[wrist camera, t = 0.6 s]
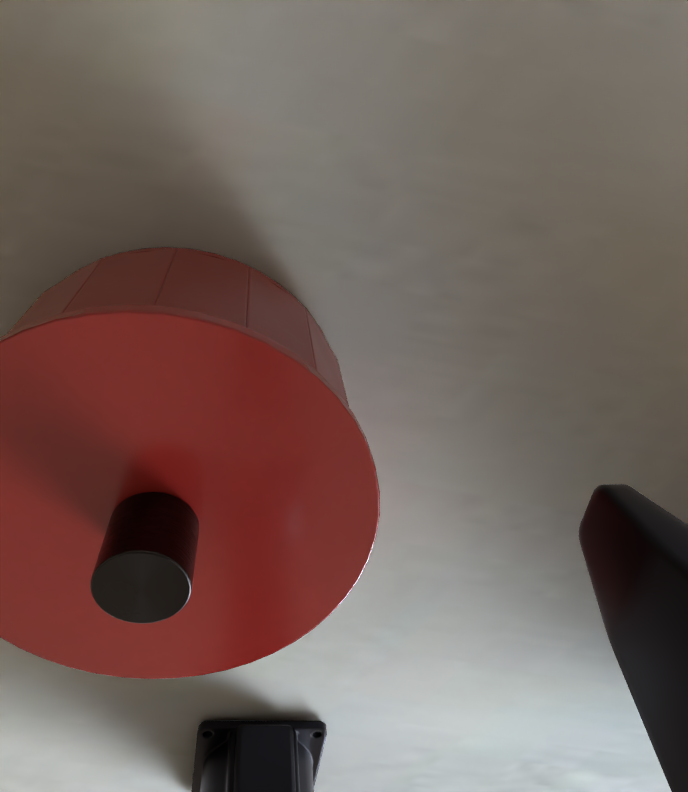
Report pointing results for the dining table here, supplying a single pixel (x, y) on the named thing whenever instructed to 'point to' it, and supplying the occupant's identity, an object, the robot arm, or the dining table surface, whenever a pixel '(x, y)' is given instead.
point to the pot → (194, 297)
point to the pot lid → (172, 493)
